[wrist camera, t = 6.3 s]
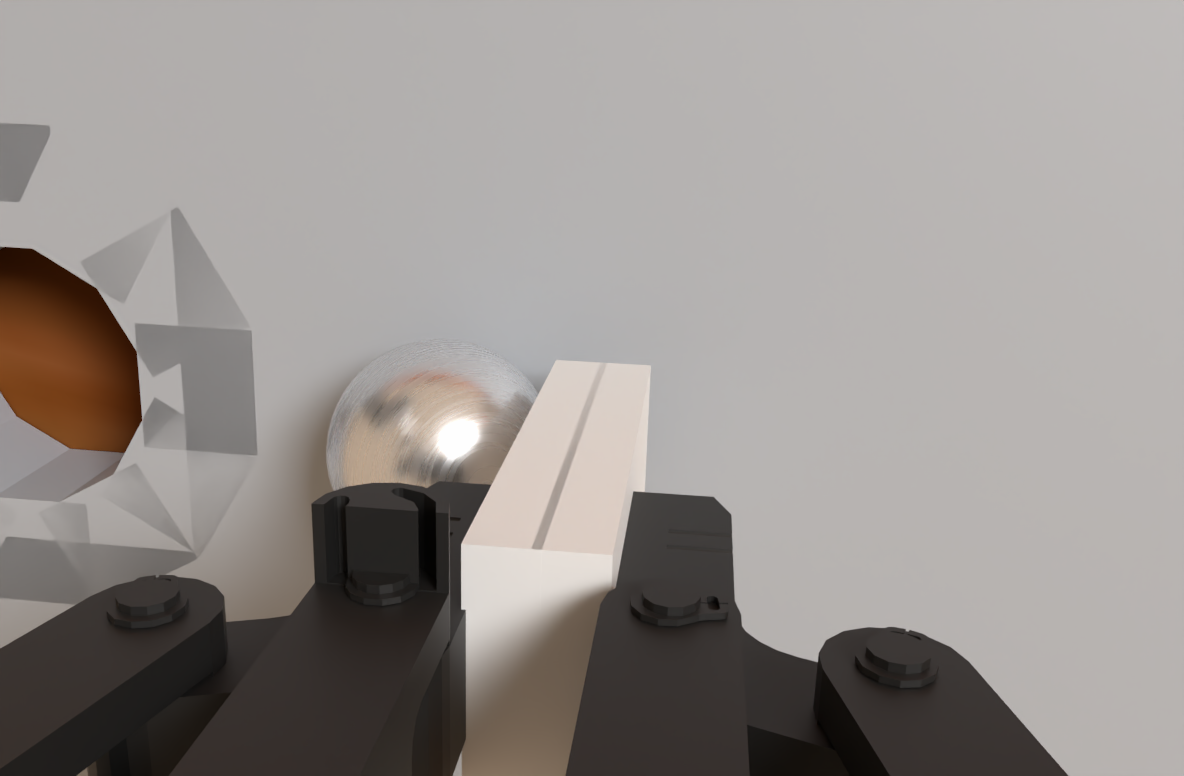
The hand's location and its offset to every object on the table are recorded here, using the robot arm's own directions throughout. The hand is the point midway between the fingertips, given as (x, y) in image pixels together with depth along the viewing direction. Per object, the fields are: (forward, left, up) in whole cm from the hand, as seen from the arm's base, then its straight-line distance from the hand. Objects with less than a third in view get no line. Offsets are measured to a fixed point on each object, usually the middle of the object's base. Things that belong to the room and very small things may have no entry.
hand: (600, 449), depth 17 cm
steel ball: (-2, 0, 0) cm, 2 cm away
